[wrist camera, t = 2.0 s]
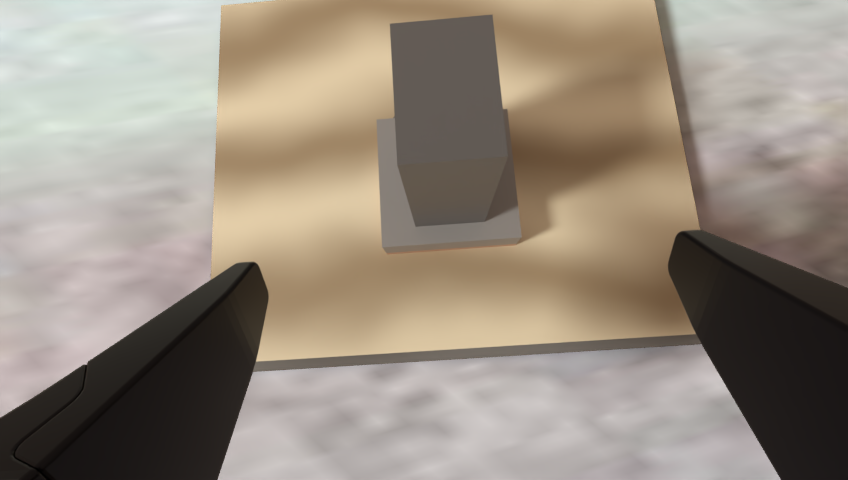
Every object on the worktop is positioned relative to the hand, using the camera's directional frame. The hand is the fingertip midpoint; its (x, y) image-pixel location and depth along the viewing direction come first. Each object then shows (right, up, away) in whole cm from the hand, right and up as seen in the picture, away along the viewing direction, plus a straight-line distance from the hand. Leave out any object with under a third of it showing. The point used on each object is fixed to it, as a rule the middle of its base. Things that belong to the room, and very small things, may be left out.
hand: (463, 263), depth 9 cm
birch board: (0, +5, +13) cm, 14 cm away
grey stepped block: (0, +3, +12) cm, 12 cm away
